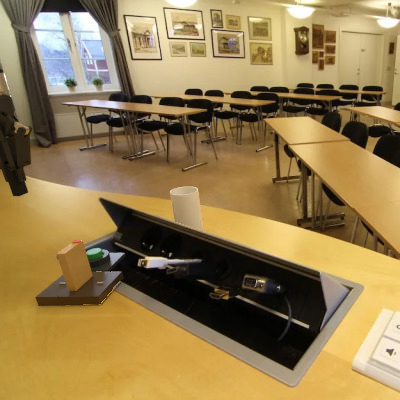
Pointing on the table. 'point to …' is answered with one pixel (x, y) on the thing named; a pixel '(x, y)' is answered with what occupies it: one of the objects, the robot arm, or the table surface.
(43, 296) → the lock plate
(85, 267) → the tan upright slab
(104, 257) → the block
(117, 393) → the table surface
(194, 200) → the cup
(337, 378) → the table surface
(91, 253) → the release button
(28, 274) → the table surface
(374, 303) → the table surface
